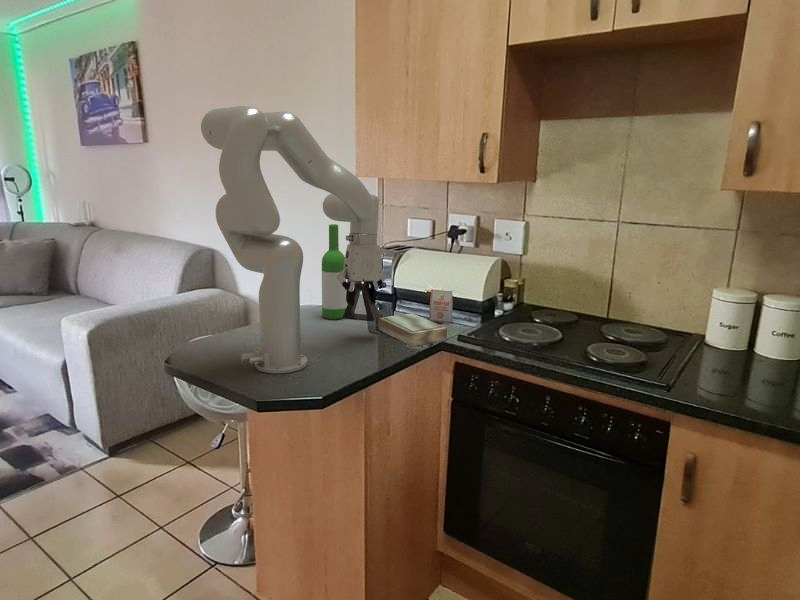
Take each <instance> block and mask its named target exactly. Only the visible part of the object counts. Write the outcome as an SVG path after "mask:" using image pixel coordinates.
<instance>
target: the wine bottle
mask: <svg viewBox="0 0 800 600" xmlns="http://www.w3.org/2000/svg"><path fill="white" fill-rule="evenodd" d="M339 247H340V246H339V224H328V250H327V251H326V252H325V253H324V254H323V256H322V259H321V314H322V317H323V318H324V319H326V320H327V319H328V320H340V319H343V315H344V312H345V310H346V307H347V302H346V290H345V288H344V287H343V286H342V285H341V284H340V283H339V282H338V281H337V279H336V277H337V276H338V275H339V274H340V273H341V271H342V270H343V269H344V261H345V255H344V253H343V252H342V251H340V250H339V249H340V248H339ZM344 280H345V282H347V279H345V278H344Z"/></svg>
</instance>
